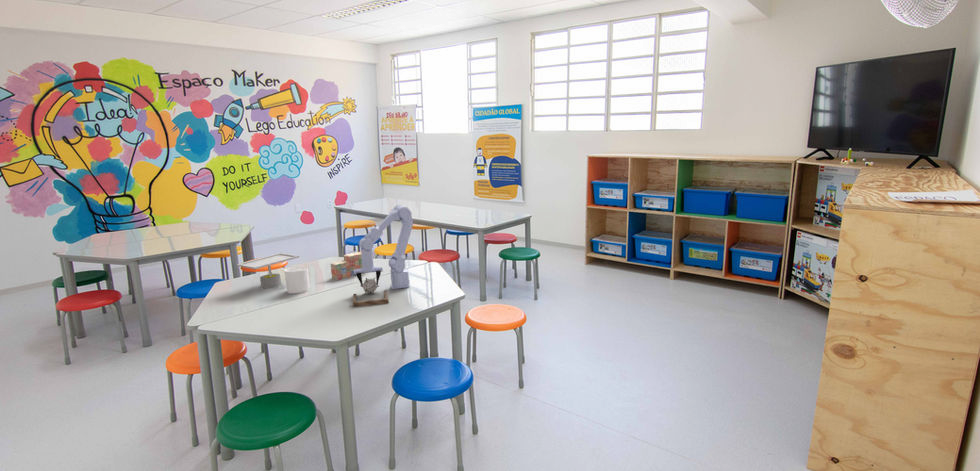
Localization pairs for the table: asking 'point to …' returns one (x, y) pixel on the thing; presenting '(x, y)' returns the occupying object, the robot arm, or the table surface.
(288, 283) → the cup
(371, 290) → the game die
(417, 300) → the table surface
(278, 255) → the solar panel model
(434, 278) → the table surface
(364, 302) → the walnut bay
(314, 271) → the table surface
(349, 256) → the stack of blocks
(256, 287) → the table surface
